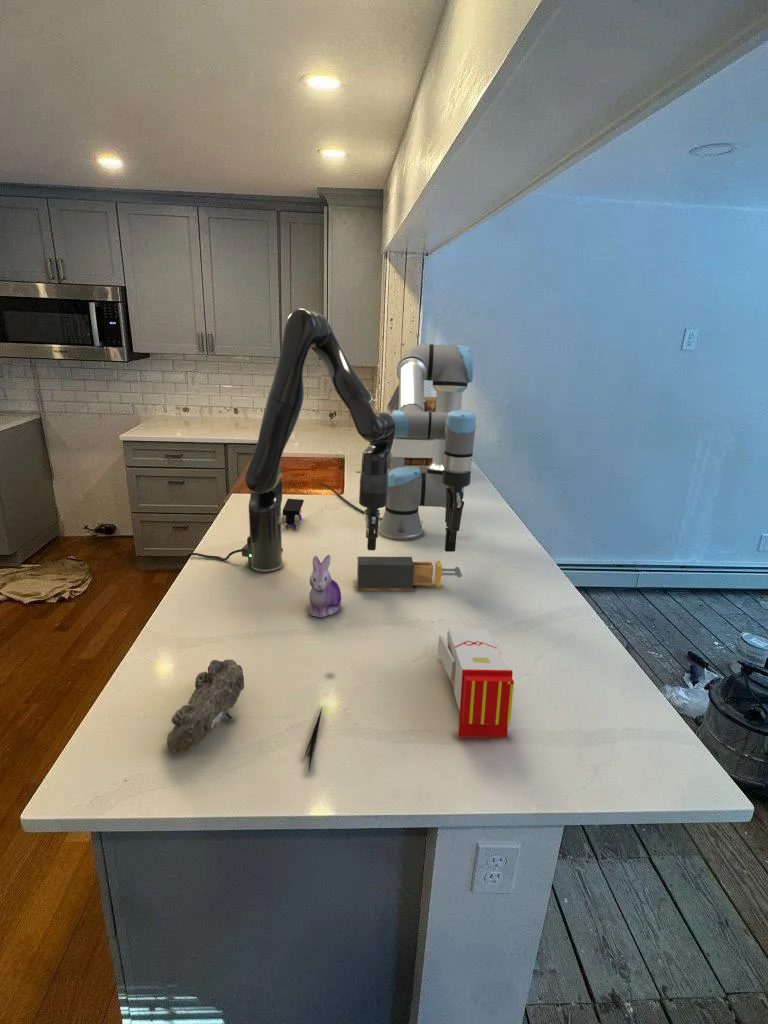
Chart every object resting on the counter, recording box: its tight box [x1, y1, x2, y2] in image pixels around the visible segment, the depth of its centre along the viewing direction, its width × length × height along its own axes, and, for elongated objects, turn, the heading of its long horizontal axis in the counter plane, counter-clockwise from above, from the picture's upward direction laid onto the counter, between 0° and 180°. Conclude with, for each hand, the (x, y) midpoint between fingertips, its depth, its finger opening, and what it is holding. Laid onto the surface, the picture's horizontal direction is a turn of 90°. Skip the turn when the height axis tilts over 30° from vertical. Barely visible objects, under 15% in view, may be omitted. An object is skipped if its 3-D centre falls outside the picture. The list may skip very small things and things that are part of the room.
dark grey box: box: [356, 556, 414, 592], centre depth 161 cm, size 16×6×8 cm, turn 95°
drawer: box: [413, 560, 463, 588], centre depth 162 cm, size 20×4×6 cm, turn 95°
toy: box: [437, 628, 515, 738], centre depth 117 cm, size 12×13×30 cm
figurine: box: [308, 554, 342, 618], centre depth 145 cm, size 9×10×15 cm
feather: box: [301, 673, 332, 771], centre depth 108 cm, size 2×28×2 cm
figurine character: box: [281, 498, 305, 530], centre depth 203 cm, size 7×8×15 cm
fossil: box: [166, 658, 245, 754], centre depth 106 cm, size 22×10×15 cm
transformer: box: [385, 384, 436, 472], centre depth 268 cm, size 34×33×41 cm
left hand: (370, 543), depth 157 cm, fingers open, 8 cm apart
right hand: (449, 550), depth 160 cm, fingers closed
